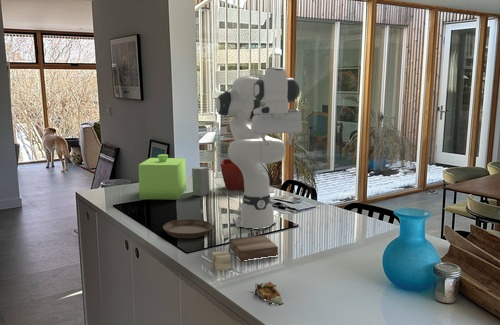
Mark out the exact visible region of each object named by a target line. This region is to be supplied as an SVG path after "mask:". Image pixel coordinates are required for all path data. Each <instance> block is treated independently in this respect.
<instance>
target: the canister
mask: <svg viewBox="0 0 500 325" xmlns="http://www.w3.org/2000/svg"><path fill="white" fill-rule="evenodd" d="M186 164H187V163H186V158H185V157H179V158H178V157H173V158H172V157H169V155H168V154H165V153H164V154H158V155H157V157H149V158H148V159H146V160H144V161H143V162H141V163H139V164H138V188H139V189H138V190H139V191H138V192H139V200H173V201H174V200H175V201H176V200H179V199H180V198H181V197H182V195H183V194H184V193H185V192H186V191H187V176H186V175H187V174H186V173H187V169H186V167H187V166H186ZM184 191H185V192H184Z"/></svg>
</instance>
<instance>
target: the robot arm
mask: <svg viewBox="0 0 500 325" xmlns="http://www.w3.org/2000/svg"><path fill="white" fill-rule="evenodd" d="M287 75H288V74H287V70H286V69H285V68H284V67H274V66H270V67H267V68H265V71H264V75H263V76H262V77H261V78H258V77H255V76H251V75H244V76H243V75H242V76H240V77H238V78H236V79H235V80H234V81H233V83H232V84H231V90H230V91H228V90H225V91H224V92H223V93H221V94H220V95H218V96H217V98H216V101H215V109H216V112H217V113H218V115H220V116H223V117H228V116H229V117H232V118H231V120H230V122H229V129H230V132H231V134H232V136H233V138H234V140H233V141H232V142H230V144H229V146H228V148H227V155H228V159H230V160H231V161H232V162H233V163H234V164H236V165H237V166H238V167H239V169H240V170H241V172H242V174H243V178H244V190H243V191H244V192H243V195H242V202H241V204H240V205H239V206H238V208H237V209H235V215H234V216H233V217H232V219H233V222H234V225H235V227H236V228H239V227H244V228H243V229H246V228H263V227H267V226H270V225H271V224H273V223H274V222H276V223H277V221H276V220H275V219H274V208H273V205H272V204H271V194H270V178H269V176H268V174H267V173H265V172H263V171H261V170H259V168H258V165H259V164H273V163H276V162H281V161H282V160H283V159H284V157H285V154H286V147H285V145H286V146H291V145H292V140H293V139H294V137H295V134H298V133H300V134H301V133H302V132H303V122H302V111H300V110H299V109H298V108H295V109H294V108H293V109H292V108H289V104H293V103H294V102H295V101H296V99H298V97H299V96H300V91H301V90H300V85H299V83H298V82H297V81H296V79H294V78H293V77H287ZM261 103H264V105H262V106H261ZM270 134H288V139H287V140H285V142H286V143H285V144H284V142H283V141H282V140H281V139H278V138H274V137H272V136H269V135H270Z"/></svg>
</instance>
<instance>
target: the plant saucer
mask: <svg viewBox="0 0 500 325" xmlns="http://www.w3.org/2000/svg"><path fill="white" fill-rule="evenodd" d="M162 228H163V230H164V231H165V233H166V234H167V235H169V236H171V237H173V238H176V239H177V238H178V239H196V238H200V237H203V236H205V235H207V234H208V233H209V232H210V231H211V229H212V228H213V224H212V223H211V222H209V221H207V220H202V219H195V218H194V219H193V218H192V219H191V218H185V219H175V220H171V221H169V222H166V223H165V224H164V225H163V226H162Z"/></svg>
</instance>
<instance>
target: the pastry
mask: <svg viewBox="0 0 500 325" xmlns="http://www.w3.org/2000/svg"><path fill="white" fill-rule="evenodd" d="M254 285H255V286H254V287H255V289H254V290H255V291H254V292H255V293H256V294H257V296H258V297H261V298H262V301H263V300H264V299H266V300H268V301H267V302H269V305H271V304H272V303H274V305H273V304H272V305H273V306H276V305H277V304H280V305H281V304H283V303H282V301H284V300H283V298H282V297H281V293H280V292H279V290H277V289H276V288H277V287H278V286H277V284H274V283H272V282H271V281H269V282H261V283H259V284H258V283H256V282H255V283H254Z"/></svg>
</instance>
